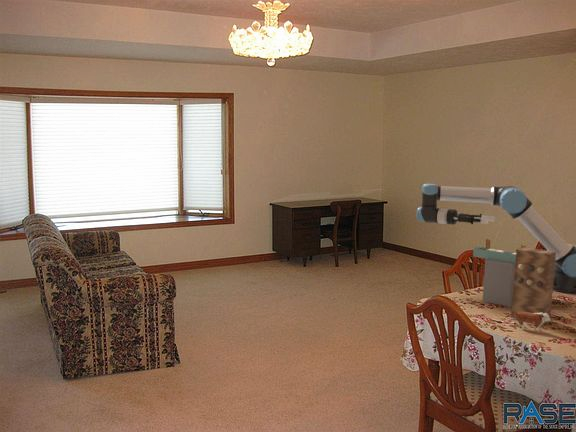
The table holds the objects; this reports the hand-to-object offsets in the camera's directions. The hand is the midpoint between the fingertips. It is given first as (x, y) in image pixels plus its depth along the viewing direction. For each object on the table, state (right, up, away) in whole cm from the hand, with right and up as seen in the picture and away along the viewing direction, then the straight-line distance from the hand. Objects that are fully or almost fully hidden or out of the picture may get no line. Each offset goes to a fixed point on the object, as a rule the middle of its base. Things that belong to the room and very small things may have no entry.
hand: (491, 220), depth 296 cm
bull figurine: (+1, -45, -45) cm, 64 cm away
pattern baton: (+1, -18, -9) cm, 20 cm away
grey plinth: (+1, -38, -7) cm, 39 cm away
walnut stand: (+6, -42, -31) cm, 53 cm away
